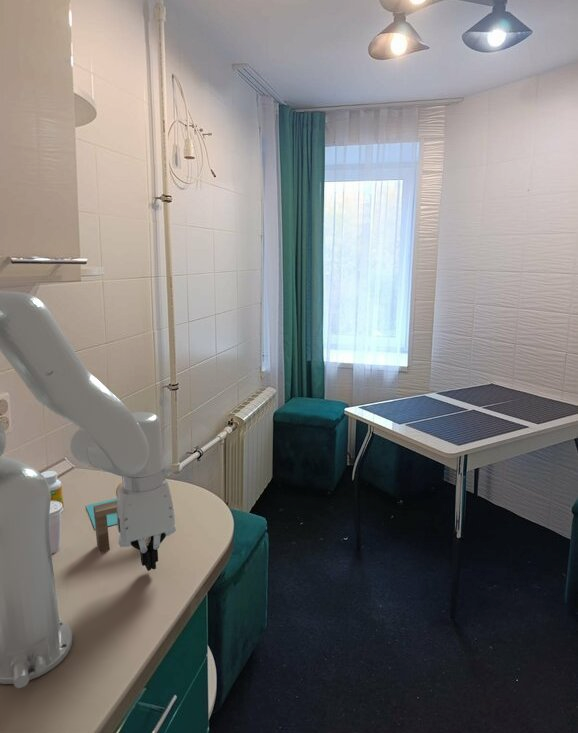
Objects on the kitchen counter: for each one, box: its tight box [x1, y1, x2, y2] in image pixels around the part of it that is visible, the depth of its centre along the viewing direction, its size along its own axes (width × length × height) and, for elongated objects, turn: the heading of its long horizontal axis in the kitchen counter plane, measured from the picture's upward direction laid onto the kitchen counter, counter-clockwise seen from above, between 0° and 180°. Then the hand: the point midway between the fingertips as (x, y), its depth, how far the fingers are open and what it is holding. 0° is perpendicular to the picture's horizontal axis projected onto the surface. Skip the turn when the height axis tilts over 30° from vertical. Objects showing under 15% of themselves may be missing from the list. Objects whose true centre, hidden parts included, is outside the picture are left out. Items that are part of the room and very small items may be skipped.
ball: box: [115, 481, 123, 497], centre depth 130 cm, size 6×6×6 cm
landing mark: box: [85, 497, 117, 531], centre depth 126 cm, size 13×13×1 cm
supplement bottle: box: [40, 470, 65, 512], centre depth 125 cm, size 5×5×10 cm
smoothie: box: [49, 501, 64, 555], centre depth 108 cm, size 6×6×14 cm
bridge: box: [93, 501, 117, 553], centre depth 112 cm, size 3×14×9 cm, turn 120°
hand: (150, 566), depth 101 cm, fingers closed
